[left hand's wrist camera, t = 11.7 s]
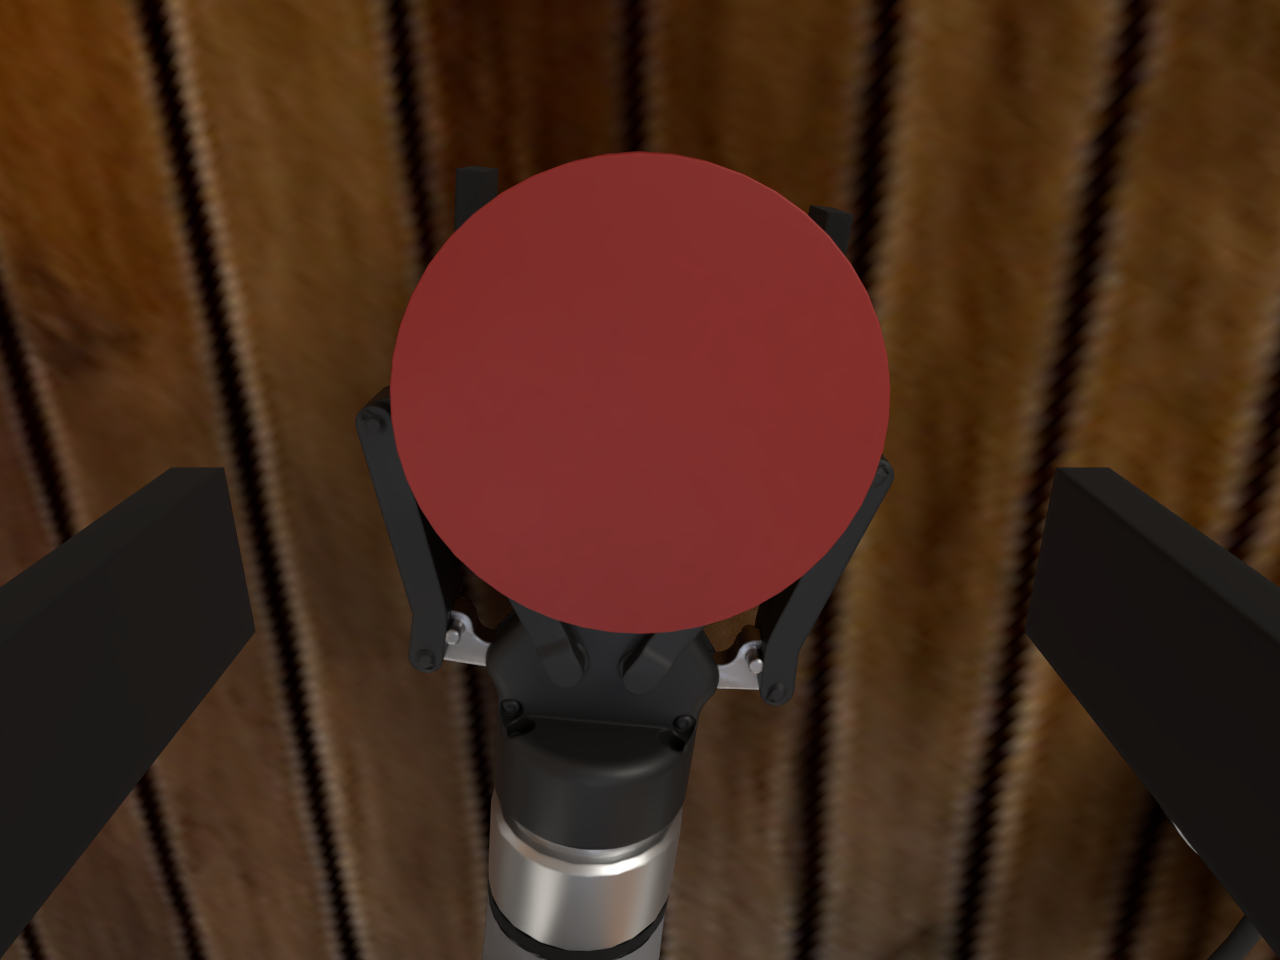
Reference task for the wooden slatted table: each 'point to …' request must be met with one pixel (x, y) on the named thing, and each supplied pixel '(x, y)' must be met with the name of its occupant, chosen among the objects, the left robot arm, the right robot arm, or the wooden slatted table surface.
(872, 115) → the wooden slatted table surface
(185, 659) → the left robot arm
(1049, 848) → the wooden slatted table surface
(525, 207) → the lid
